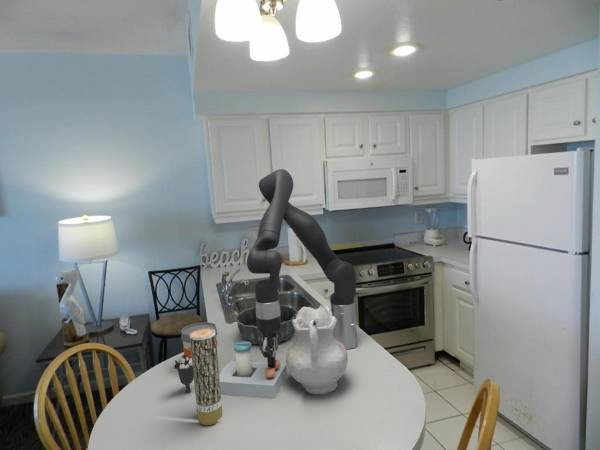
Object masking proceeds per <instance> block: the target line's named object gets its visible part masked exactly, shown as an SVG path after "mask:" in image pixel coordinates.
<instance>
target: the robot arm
mask: <svg viewBox="0 0 600 450" xmlns="http://www.w3.org/2000/svg"><path fill="white" fill-rule="evenodd" d="M258 188H259V191H260V193H261V195H262V196H263V198H264V199H265V201H267V203H268V204H269V205H268V207H267V208H266V210H265V212H264V214H263V216H262V218H261V220H260V221H259V222H260V223H259V227H258V232H257V238H256V239H255V241H254V244H253V245H252V247H251V249H250V251H249V253H248V254H247V259H246V267H247V269H248V271H249V272H250V273H251V274H253V275H254V274H255V275H257V274H260V275H261V274H265V275H266V274H269V277H268V278H267V279H262V280H259V281H257V282H255V284H254V293H255V307H256V320H257V329H258V331H260V332H262V333H263V336H262V342H263V345H259V351H260V353H261V354H262V356H263V358H264V359H265V358H266V359H267V363H268V368H275V366H276V360H277V358H276V356H277V351H278V347H279V343H278V342H279V334H280V333H279V332H277V331H278V330H279V329H280V328H281V315H280V299H279V278H280V273H281V269H282V264H283V258H282V255H281V254H280V252H279V251H278V250H273V249H275V248H277V247H278V246H279V243H280V237H281V230H282V224H283V221H285V222H286V224H287V225H288V227H289V228H290V229H291V230H292V231H293V233H294V235H295V236H296V237H297V239H298V240H299V241H300V243H301V244H302V245H303V246H304V247H305V249H306V250H307V251H308V252H309V253H310V255H311V256H312V257H313V258H314V259H315V260H316V262H317V263H318V265H319V267H320V268H321V270H322V272H323V273H324V275H325V277H326V278H327V279H328V280H329V281H330V282H331V283H333V293H331V295H330V297H329V300H330V303H329V304H330V309H331V311H332V315H333V316H334V317H335V318H336V319H337V322H336V325H335V327H334V331H333V337H334V338H335V339H336V340H337V341H339V342H341V343H342V344H343V345H344V347H345V348H346V350H350V349H356V348H357V343H358V334H357V319H356V311H355V309H356V308H355V296H356V293H357V274H356V270H355V267H354V266H353V265H352V264H351V263H350V262H346V261H343V260H341V259H340V258H339V257H338V256H337V254H336V253H334V251H333V250H332V248H331V247H330V245H329V242H328V239H327V236H326V234H325V231H324V230H323V228H322V227H321V225H320V224H319V223H318V221H317V220H316V218H315V217H313V215H311V214H310V213H308V212H306V211H303V209H299V208H298V207H296V206H295V205H293V204H291V203H290V198H291V196H292V193H293V189H294V179H293V177H292V175H291V173H290V172H289V171H288V170H286V169H283V168H280V169H276V170H274V171H273V172H270V173H269V174H267V175H266V176H264V177H263V178H261V179H260V180H259V181H258Z"/></svg>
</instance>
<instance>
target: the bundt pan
mask: <svg viewBox="0 0 600 450" xmlns="http://www.w3.org/2000/svg"><path fill="white" fill-rule="evenodd" d="M298 312H299V311H298V310H297V309H295V307H291V306H290V305H284V304H281V305H280V315H281V328H280V329H279V330H278V331H277V332H279V333H280V334H279V342H278V344H280V343H281V342H282V341H286V340H287V339H289V338H290V337H292V336H293V335H294V334H295V332H296V330H295V328H294V326H293V324H292V320H293V319H296V316H297V314H298ZM234 320H235V322H236V324H237V328H238V331H239V334H240V337H241V338H242V339H243V340H244V341H247V342H250V343H251V345H257V344H258V345H259V346H263V342H262V336H263V333H262V332H260V331H258V329H257V320H256V306H252V307H251V308H246V309H244V310H242V311H241V312H240V313H237V315H236V316H235V317H234ZM243 340H242V341H243Z"/></svg>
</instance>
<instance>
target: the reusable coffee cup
mask: <svg viewBox="0 0 600 450" xmlns="http://www.w3.org/2000/svg"><path fill="white" fill-rule="evenodd" d="M200 329H213V330H215V334H216V337H217V336H218V329H217V326H216V324H215V323H213V322H209V321H208V322H207V321H206V322H205V321H204V322H203V321H202V322H196V323H191V324H189V325H186V326H185V327H183V328H181V330H180V331H181V332H180V333H181V334H180V335H181V337H180V338H181V339H180V340H181V341H182V344H183V345H182V349H183V350H182V351H183V354H184V353H186V352H187V351H188V352H187V355H189V350H190V355H192V353H191V349H189V348H191V343H190V334H191V333H192V332H194V331H197V330H200ZM216 345H217V346H218V340H217V338H216ZM188 349H189V350H188Z"/></svg>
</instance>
